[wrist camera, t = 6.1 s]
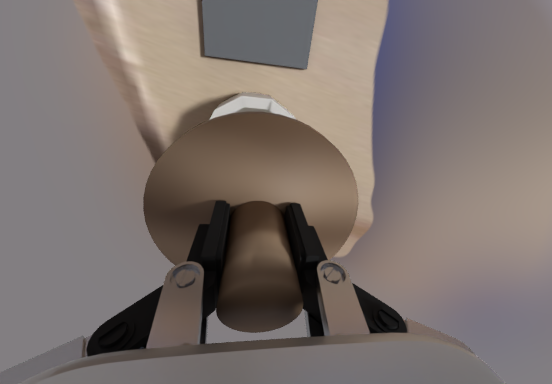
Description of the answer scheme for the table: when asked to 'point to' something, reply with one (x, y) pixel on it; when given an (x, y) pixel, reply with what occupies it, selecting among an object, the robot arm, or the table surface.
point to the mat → (260, 30)
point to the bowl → (251, 105)
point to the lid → (251, 207)
